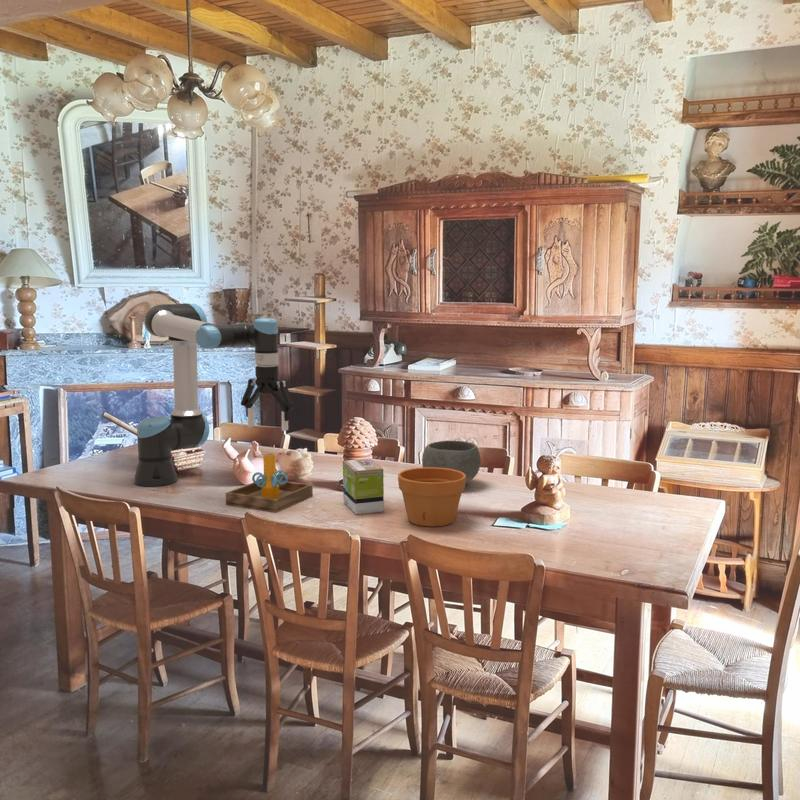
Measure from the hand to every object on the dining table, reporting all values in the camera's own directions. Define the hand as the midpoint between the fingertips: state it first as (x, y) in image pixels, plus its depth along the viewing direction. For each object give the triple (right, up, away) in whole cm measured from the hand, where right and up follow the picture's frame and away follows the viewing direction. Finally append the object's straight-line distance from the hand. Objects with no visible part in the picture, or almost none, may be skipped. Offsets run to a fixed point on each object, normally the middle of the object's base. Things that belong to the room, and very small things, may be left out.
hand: (268, 428), depth 280 cm
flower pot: (+54, -28, -18) cm, 64 cm away
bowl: (+63, -22, +24) cm, 70 cm away
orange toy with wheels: (0, -24, +3) cm, 24 cm away
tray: (0, -24, +3) cm, 25 cm away
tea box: (+32, -26, -4) cm, 41 cm away
